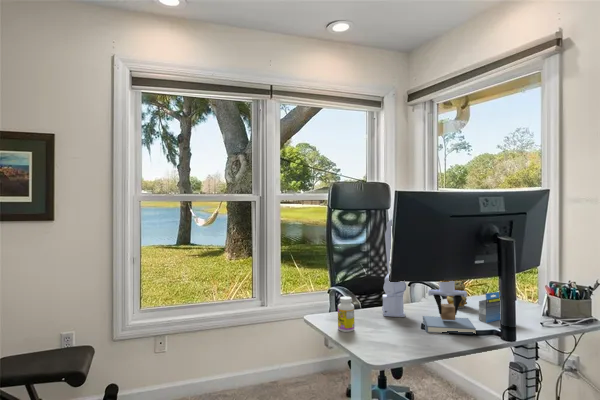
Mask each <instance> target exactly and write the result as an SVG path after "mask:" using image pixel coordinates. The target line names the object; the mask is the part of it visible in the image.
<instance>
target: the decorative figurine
mask: <svg viewBox="0 0 600 400" xmlns="http://www.w3.org/2000/svg"><path fill="white" fill-rule="evenodd" d="M466 282H467V281H455V290H459V291H466V290H465V289H466V286H465V283H466ZM461 298H462V300H461V302H460V304H459V306H458V309H463V308H465V306H466V305H468V302H467V298H468V297H464V296H461ZM446 301H447V304H453V305H454V301H453V296H446Z"/></svg>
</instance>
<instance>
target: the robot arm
mask: <svg viewBox="0 0 600 400" xmlns="http://www.w3.org/2000/svg"><path fill="white" fill-rule="evenodd" d="M391 226H392V218H391V219H389V220H388V221H387V222H386V230H385V232H384V241H385V242H384V243H385V254H386V268H387V274H386V275H385V277H384V284H383V291H384V293H385V294H382V307H381V308H382V309H381V310H382V316H383V317H394V318H395V317H396V318H397V317H399V318H405V317H406V313H405V309H404V294H405V292H406V290H407V283H406V281H405V282H390V281H389V261H390V249H391ZM438 284H439V286H438V288H439V289H427V295H428V296H433V298H434V301H435V303H436V305H437V308H438V309H437V310H438V314H439V315H440V314H441V304H442V297H441V296H443V297H444V296H446V297H447V296H453V301H454V307H455V316H456V315H457V313H458V309H459V308H458V306H459V304H460V302H461V300H462V298H461V296H464V297H466V298H468V291H466V290H464V291H459V290H455V281H450V282H438Z"/></svg>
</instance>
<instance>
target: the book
mask: <svg viewBox="0 0 600 400" xmlns="http://www.w3.org/2000/svg"><path fill="white" fill-rule="evenodd" d="M423 323H424V324H423ZM422 324H423V326H424V325H425V327H424V330H425V332H426V333H431V334H433V333H434V334H436V333H437V334H443V333H442V332H447V331H458V332H473V333H475V334H476V330H477V328H476V327H475V325H474V324H473V322H472V321H471V319H469V318H468V317H455V320H442V319H441V317H440V316H431V315H430V316H429V315H422Z"/></svg>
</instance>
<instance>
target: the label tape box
mask: <svg viewBox="0 0 600 400" xmlns="http://www.w3.org/2000/svg"><path fill="white" fill-rule="evenodd" d="M499 292H500V291H494V292H487V293H485V299H482V300H479V301H478V321H480V322H482V323H485V324H488V323H492V322H496V321H501V314H500V299H499Z"/></svg>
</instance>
